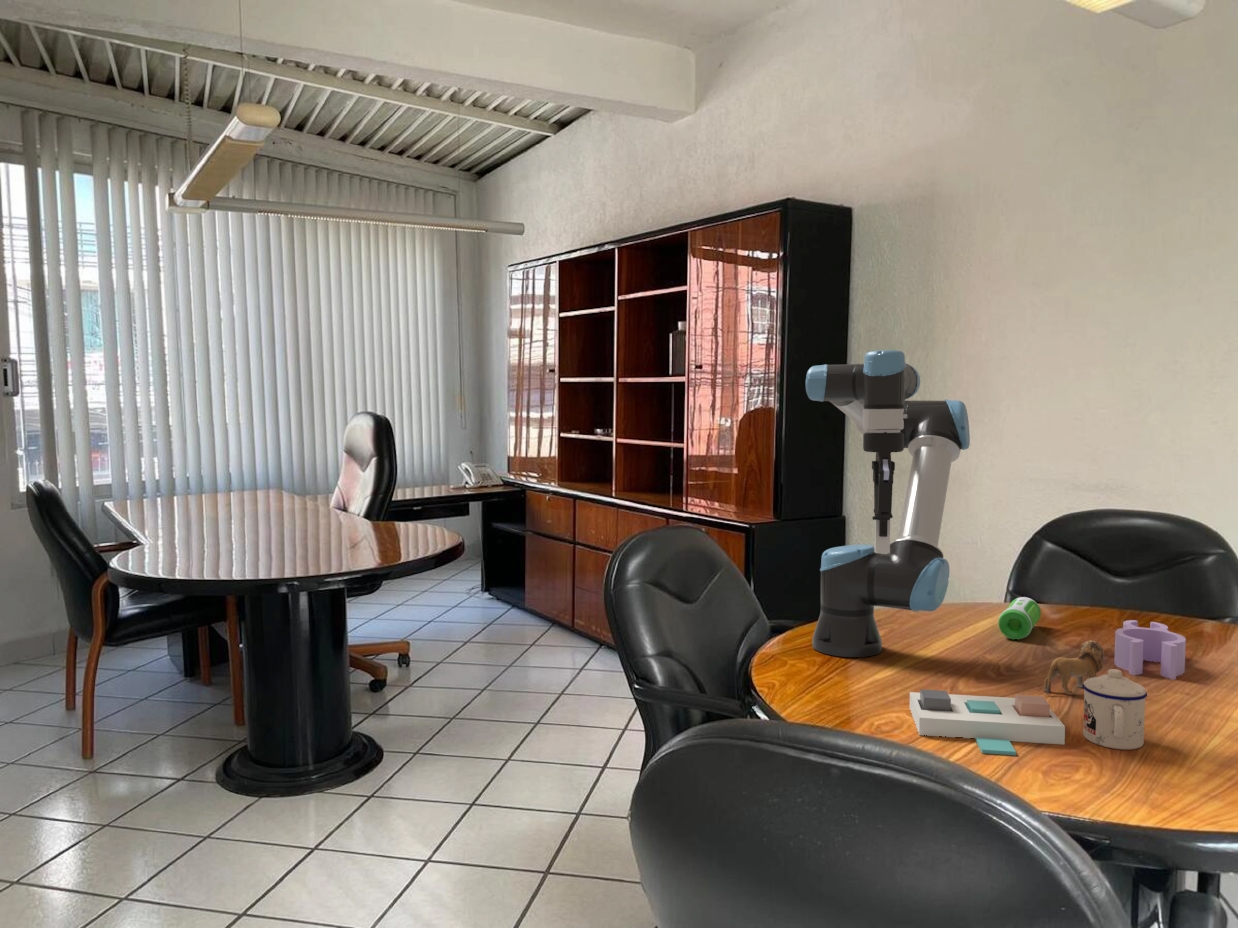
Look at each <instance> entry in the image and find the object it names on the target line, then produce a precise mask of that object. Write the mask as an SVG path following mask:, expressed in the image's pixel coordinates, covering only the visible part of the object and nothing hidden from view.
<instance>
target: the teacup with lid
mask: <svg viewBox="0 0 1238 928" xmlns="http://www.w3.org/2000/svg"><path fill="white" fill-rule="evenodd" d="M1082 688H1083V689H1084V692H1083V693H1084V694H1083V720H1082V721H1083V724H1082V725H1083V726H1082V728H1083V729H1082V734H1083V737H1084V738H1085V739H1086V740H1088V741H1089V742H1090V743H1092V744H1095V745H1097V746H1101V747H1104V748H1109V749H1112V750H1113V749H1114V750H1126V751H1127V750H1136V749H1139V748H1141V747H1142V746H1143V745H1144V742H1145V716H1146V715H1145V714H1146V713H1145V712H1146V711H1145V710H1146V698H1147V697H1148V693H1147V690H1146V688H1145V687H1144V686H1143V685H1141V684H1140V683H1137V682H1135V681H1132V680H1131V679H1129V678H1127V677H1126V676H1123V672H1122V671H1121V670H1120V669H1116V668H1110V669H1108V670H1107V673H1105V674H1102V675H1099V676H1096V677H1093V678H1089V677H1088V678H1087V679H1086V680H1084V681H1083V687H1082Z"/></svg>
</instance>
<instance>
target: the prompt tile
mask: <svg viewBox="0 0 1238 928" xmlns="http://www.w3.org/2000/svg"><path fill="white" fill-rule="evenodd" d="M975 742H976V744H977V747H978V748H979V751H981V753H982V754H989V755H1002V756H1014V757H1015V756H1017V751H1016V749H1015V748H1014V746H1013V745H1012V743H1011V741H1009V740H1006V739H990V738H976V739H975Z"/></svg>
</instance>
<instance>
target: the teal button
mask: <svg viewBox="0 0 1238 928" xmlns="http://www.w3.org/2000/svg"><path fill="white" fill-rule="evenodd" d="M967 709H968V710H969V712H970V713H983V714H1000V710H999V709H998V707H997V706H996V704H995V702H994V701H976V700H967Z"/></svg>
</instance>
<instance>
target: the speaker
mask: <svg viewBox="0 0 1238 928" xmlns="http://www.w3.org/2000/svg"><path fill="white" fill-rule="evenodd" d="M1041 613H1042V612H1041V608H1040V605H1039V604H1038V603H1037V602H1036V601H1035V600H1034V599H1032V598H1030V597H1027V596H1021V597H1017V598H1015V599H1013V600H1012V601H1011V602H1010V604H1009V606H1008V607H1006V609H1004V610H1003V611H1002V612H1001V614H1000V615H999V617H998V623H997V624H998V629H999V630H1000V632H1001V634H1003V635H1004V636H1005V637H1006V638H1008V639H1010V640H1015V639H1017V640H1023V639H1025V638H1027V637H1028V636H1029V635H1030V633H1031V632H1032V629H1034V626H1035V625H1036V624H1038V622H1039V621H1040V619H1041Z"/></svg>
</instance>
